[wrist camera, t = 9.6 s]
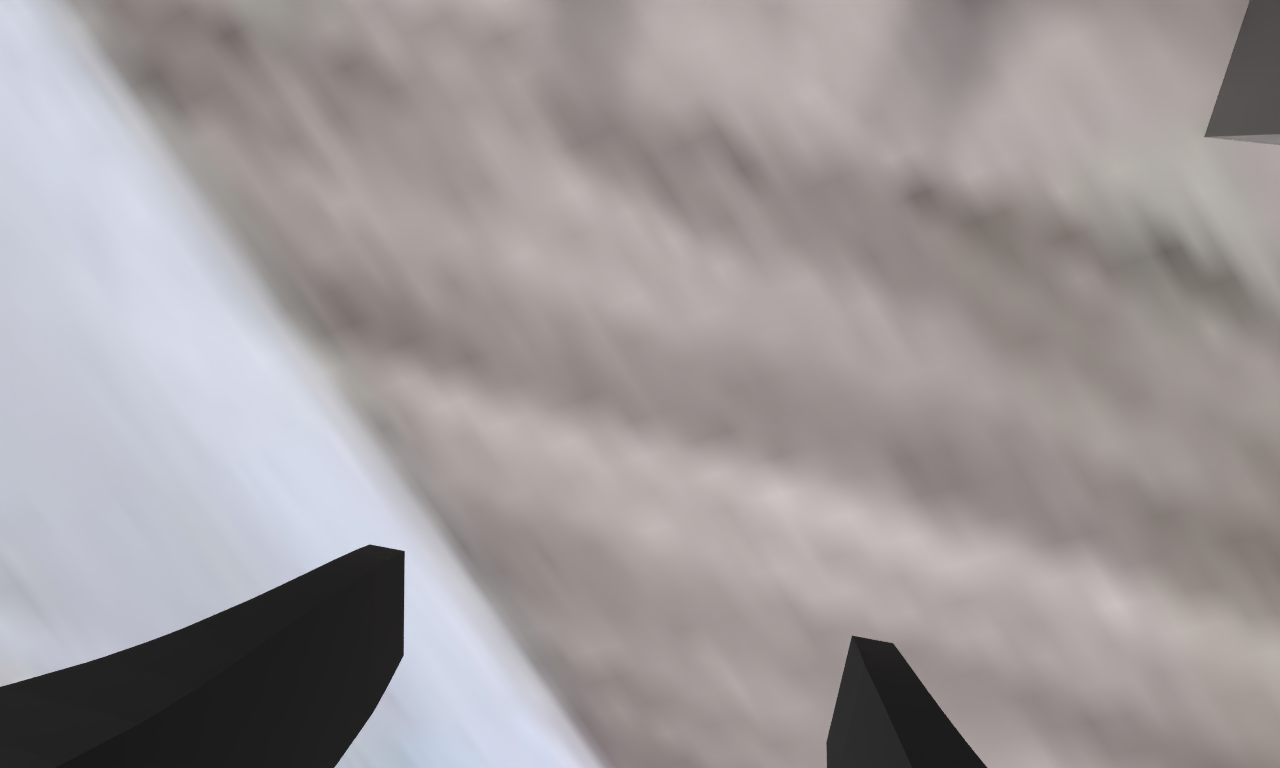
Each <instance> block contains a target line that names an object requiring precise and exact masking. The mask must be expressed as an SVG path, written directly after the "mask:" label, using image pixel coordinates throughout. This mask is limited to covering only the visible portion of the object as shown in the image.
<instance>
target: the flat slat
mask: <svg viewBox="0 0 1280 768" xmlns="http://www.w3.org/2000/svg"><path fill="white" fill-rule="evenodd" d="M1205 137H1209V138H1219V139H1228V140H1238V141H1247V142H1257V143H1266V144H1276V145H1280V0H1250V2H1249V5H1248V8H1247V11H1246V14H1245V17H1244V20H1243V23H1242V26H1241V29H1240V32H1239V35H1238V38H1237V41H1236V44H1235V47H1234V50H1233V53H1232V56H1231V59H1230V62H1229V65H1228V68H1227V71H1226V74H1225V77H1224V80H1223V83H1222V86H1221V89H1220V92H1219V95H1218V98H1217V101H1216V104H1215V107H1214V110H1213V113H1212V116H1211V119H1210V122H1209V125H1208V128H1207V131H1206V134H1205Z"/></svg>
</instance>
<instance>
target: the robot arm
mask: <svg viewBox="0 0 1280 768" xmlns="http://www.w3.org/2000/svg"><path fill="white" fill-rule="evenodd" d="M404 558H405V551H401V550H396V549H390V548H385V547H380V546H374V545H367V546H365V547H362V548H360V549H357V550H355V551H353V552H350V553H348V554H346V555H344V556H342V557H339V558H337V559H335V560H333V561H331V562H329V563H327V564H325V565H323V566H320V567H318V568H316V569H314V570H312V571H310V572H308V573H306V574H304V575H302V576H300V577H297V578H295V579H293V580H291V581H289V582H287V583H285V584H283V585H280V586H278V587H276V588H274V589H272V590H270V591H268V592H266V593H264V594H261V595H259V596H257V597H255V598H253V599H251V600H248V601H246V602H244V603H241V604H239V605H237V606H234V607H232V608H230V609H227V610H225V611H223V612H220V613H218V614H216V615H213V616H211V617H209V618H206V619H204V620H202V621H199V622H197V623H195V624H192V625H190V626H188V627H185V628H183V629H180V630H178V631H175V632H173V633H170V634H167V635H165V636H162V637H159V638H157V639H154V640H151V641H149V642H146V643H143V644H140V645H137V646H134V647H132V648H129V649H126V650H123V651H120V652H117V653H114V654H111V655H108V656H105V657H102V658H99V659H96V660H93V661H90V662H87V663H83V664H80V665H76V666H73V667H69V668H66V669H62V670H59V671H55V672H52V673H48V674H45V675H41V676H38V677H34V678H31V679H27V680H24V681H20V682H17V683H13V684H10V685H6V686H2V687H0V768H334V767H335V766H336V765H337V763H338V762H339V760H340V759H341V758H342V756H343V755H344V753H345V752H346V750H347V749H348V748H349V746H350V745H351V743H352V742H353V740H354V739H355V738H356V736H357V735H358V733H359V732H360V731H361V729H362V728H363V726H364V725H365V723H366V722H367V720H368V719H369V718H370V716H371V715H372V713H373V712H374V710H375V708H376V706H377V705H378V703H379V701H380V699H381V697H382V696H383V694H384V692H385V690H386V688H387V686H388V685H389V683H390V681H391V679H392V677H393V675H394V673H395V671H396V669H397V667H398V665H399V663H400V661H401V659H402V657H403V655H404ZM827 768H987V767H986V766H985V764H984V763H983V762H982V761H981V760H980V758H979V757H978V756H977V755H976V753H975V752H974V751H973V750H972V748H971V747H970V746H969V745H968V743H967V742H966V741H965V740H964V738H963V737H962V736H961V734H960V733H959V732H958V731H957V729H956V728H955V727H954V726H953V724H952V723H951V722H950V720H949V719H948V718H947V716H946V715H945V714H944V712H943V711H942V710H941V708H940V707H939V706H938V704H937V703H936V702H935V700H934V699H933V697H932V696H931V695H930V693H929V692H928V691H927V689H926V688H925V687H924V685H923V684H922V682H921V681H920V680H919V678H918V677H917V675H916V674H915V673H914V671H913V670H912V669H911V667H910V666H909V664H908V663H907V662H906V660H905V659H904V657H903V656H902V655H901V653H900V652H899V651H898V649H897V648H896V647H895V645H894V644H893V643H888V642H883V641H877V640H872V639H867V638H861V637H856V636H852V638H851V642H850V647H849V651H848V655H847V659H846V663H845V668H844V672H843V676H842V680H841V684H840V688H839V693H838V697H837V701H836V705H835V709H834V714H833V718H832V722H831V726H830V730H829V735H828V739H827Z"/></svg>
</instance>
